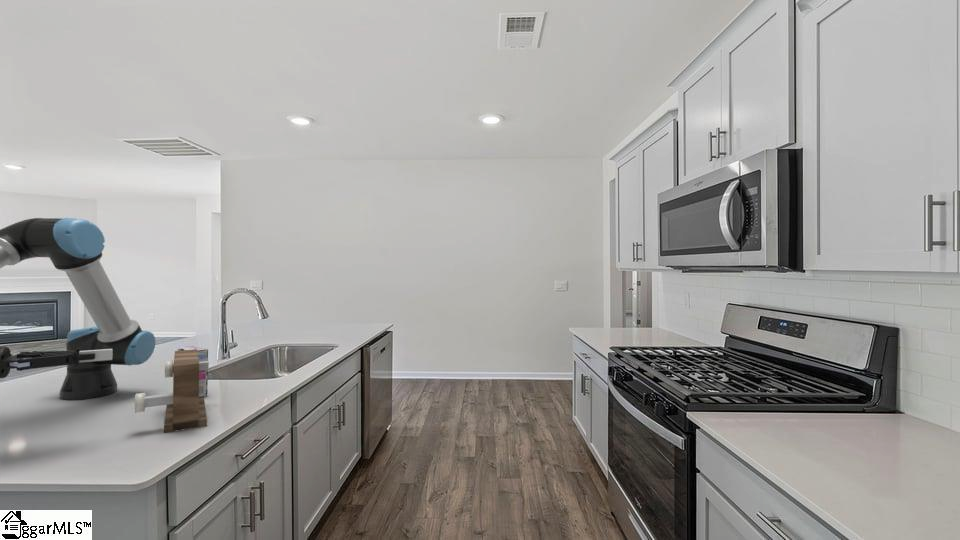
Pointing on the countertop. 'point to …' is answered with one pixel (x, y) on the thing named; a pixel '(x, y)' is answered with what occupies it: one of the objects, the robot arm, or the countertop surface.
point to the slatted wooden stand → (185, 394)
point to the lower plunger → (151, 401)
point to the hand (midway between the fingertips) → (112, 354)
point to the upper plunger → (169, 364)
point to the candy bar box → (204, 373)
